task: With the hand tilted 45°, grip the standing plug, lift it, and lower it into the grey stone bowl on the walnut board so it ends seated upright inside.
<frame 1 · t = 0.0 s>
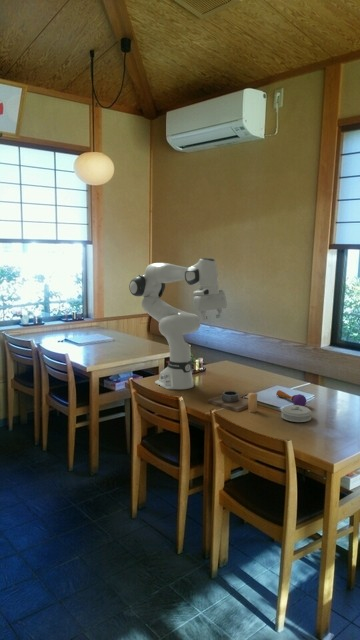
hand: (211, 319, 227), 39 cm above the table, tool pointing down, fingers open, 8 cm apart
kendama: (290, 402, 221), on the table
lid: (296, 419, 199), on the table
board: (231, 403, 219), on the table
grey stone bowl: (230, 403, 220), resting on board
plug: (252, 411, 209), on the table
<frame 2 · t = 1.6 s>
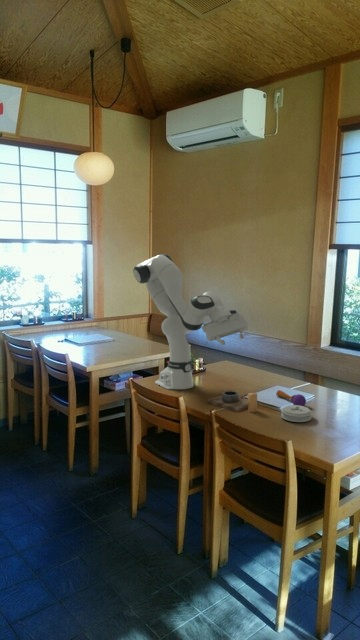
hand: (233, 341, 210), 31 cm above the table, tool tilted 50°, fingers open, 8 cm apart
nothing on the table moved.
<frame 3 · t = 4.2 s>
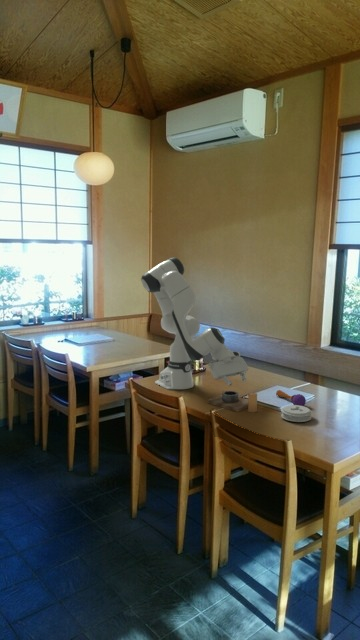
hand: (237, 383, 213), 11 cm above the table, tool tilted 45°, fingers open, 8 cm apart
nothing on the table moved.
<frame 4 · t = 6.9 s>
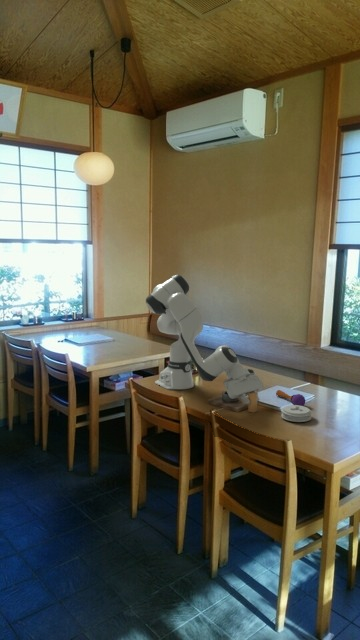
hand: (253, 401, 208), 4 cm above the table, tool tilted 45°, fingers closed on plug, 4 cm apart
plug: (252, 411, 209), on the table, touching gripper
everything else where it was.
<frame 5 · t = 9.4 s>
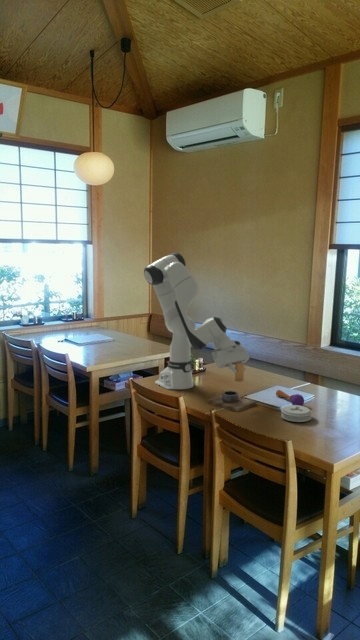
hand: (240, 371, 216), 16 cm above the table, tool tilted 45°, fingers closed on plug, 4 cm apart
plug: (239, 380, 217), point 12 cm above the table, touching gripper
everything else where it was.
when the fingers open (7 cm above the table, at t = 12.2 s): plug drops 1 cm, resting on board.
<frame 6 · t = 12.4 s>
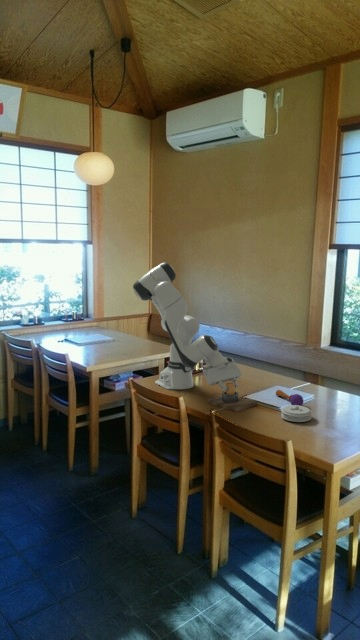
hand: (231, 388, 218), 7 cm above the table, tool tilted 45°, fingers open, 6 cm apart
plug: (230, 400, 220), point 2 cm above the table, touching board
everything else where it was.
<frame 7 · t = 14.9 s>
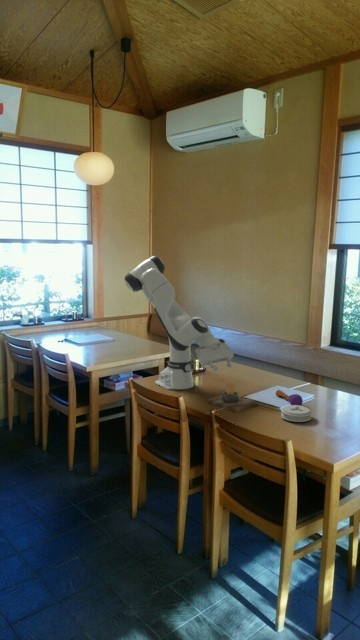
hand: (223, 368, 222), 16 cm above the table, tool tilted 45°, fingers open, 8 cm apart
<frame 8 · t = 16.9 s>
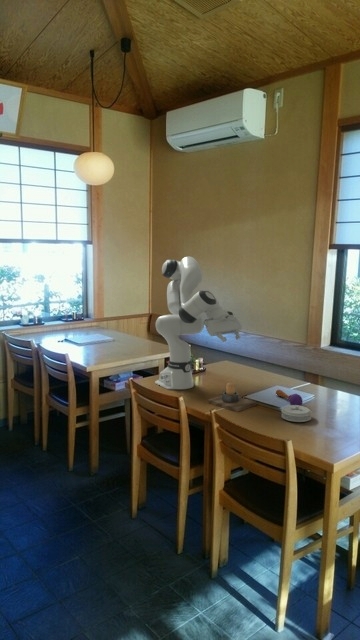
hand: (231, 339, 223), 29 cm above the table, tool tilted 45°, fingers open, 8 cm apart
at the end: plug 0.0 cm off-centre on the grey stone bowl, point 1.5 cm above the grey stone bowl's base; plug tilted 0°; the gripper is holding nothing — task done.
